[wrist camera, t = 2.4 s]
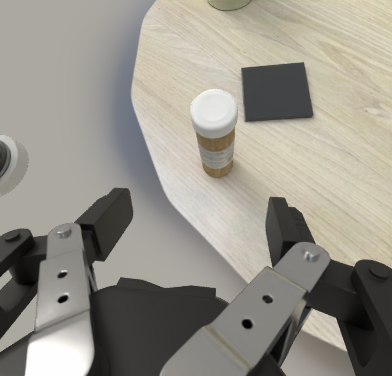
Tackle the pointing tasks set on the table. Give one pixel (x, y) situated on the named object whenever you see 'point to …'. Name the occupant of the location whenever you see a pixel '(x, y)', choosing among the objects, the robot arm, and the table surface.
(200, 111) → the sprinkles bottle
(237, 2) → the can
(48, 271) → the robot arm
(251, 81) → the slate coaster
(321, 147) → the table surface
